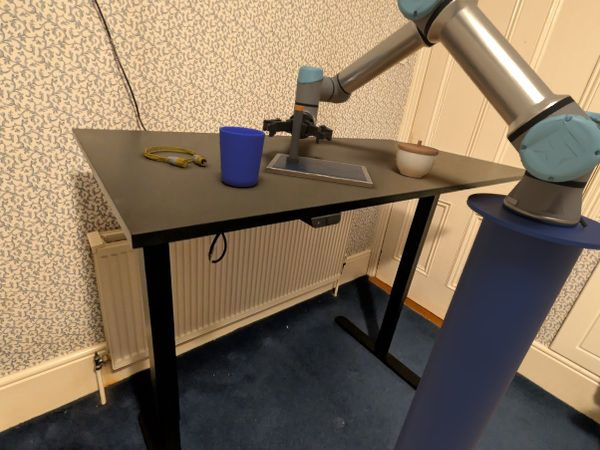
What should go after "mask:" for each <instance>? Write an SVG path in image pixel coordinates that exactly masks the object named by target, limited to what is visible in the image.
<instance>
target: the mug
mask: <svg viewBox="0 0 600 450" xmlns="http://www.w3.org/2000/svg"><path fill="white" fill-rule="evenodd" d="M218 133H219V135H218V136H219V154H220V156H219V157H220V175H221V179H222V182H224V183H225V184H226V185H228V186H231V187H235V188H237V187H238V188H249V187H253V186H255V185H256V184H257V182H258V180H259V177H260V170H261V163H262V162H261V161H262V157H263V152H264V145H265V139H266V132H265V131H263V130H260V129H256V128H251V127H244V126H232V125H231V126H228V125H227V126H220V127H219V129H218Z"/></svg>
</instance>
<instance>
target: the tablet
mask: <svg viewBox="0 0 600 450" xmlns="http://www.w3.org/2000/svg"><path fill="white" fill-rule="evenodd" d="M287 156H289V154H285V153H280V152H279V153H276V155H275V156H274V157H273V158H272V160H271V161H270V162H269V163H268V165H267V166H265V172H266V173H269V174H270V173H271V174H275V175H276V174H277V175H283V176H290V177H297V178H302V179H310V180H315V181H316V180H317V181H323V182H330V183H337V184H343V185H350V186H356V187H362V188H369V189H372V188H373V185H374V183H373V180H372V178H371V176H370V174H369V172H368V170H367V168H366V165H358V164H352V163H351V164H350V163H345V162H337V161H332V160H324V159H319V158H312V157H305V156H299V155H297V157H299V158H300V159H299V163H298V164H292V163H288V162H286V158H287Z"/></svg>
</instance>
